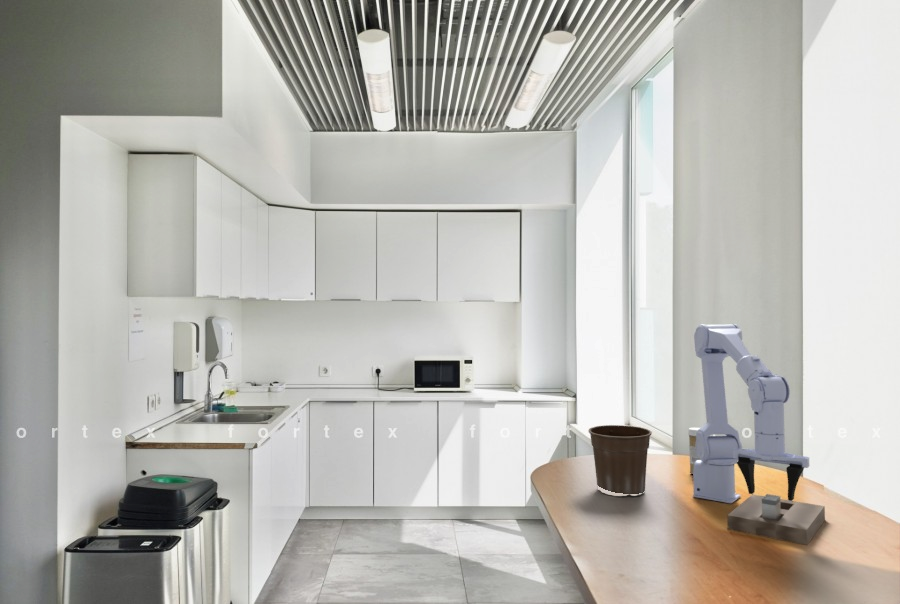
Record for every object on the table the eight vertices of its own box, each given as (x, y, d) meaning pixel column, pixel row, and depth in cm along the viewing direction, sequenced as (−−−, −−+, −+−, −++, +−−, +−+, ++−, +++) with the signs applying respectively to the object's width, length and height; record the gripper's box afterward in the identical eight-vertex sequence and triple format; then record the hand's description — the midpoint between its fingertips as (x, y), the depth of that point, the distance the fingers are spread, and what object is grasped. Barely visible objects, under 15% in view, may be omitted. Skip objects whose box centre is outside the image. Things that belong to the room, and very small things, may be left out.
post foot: (727, 529, 131) (727, 515, 131) (752, 506, 146) (752, 494, 146) (806, 545, 121) (806, 530, 121) (825, 519, 137) (824, 506, 137)
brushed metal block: (762, 531, 129) (761, 498, 130) (767, 526, 133) (766, 494, 133) (776, 534, 128) (775, 500, 128) (781, 528, 131) (780, 496, 131)
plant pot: (643, 504, 150) (642, 438, 150) (580, 494, 158) (579, 432, 159) (659, 488, 163) (658, 428, 164) (600, 480, 172) (599, 423, 172)
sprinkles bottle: (709, 475, 176) (708, 428, 177) (700, 477, 174) (699, 430, 174) (695, 472, 180) (694, 426, 181) (686, 474, 178) (685, 428, 178)
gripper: (728, 431, 133) (729, 494, 132) (803, 439, 123) (805, 507, 123) (737, 426, 138) (739, 487, 138) (810, 434, 128) (812, 499, 128)
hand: (770, 496), depth 131 cm, fingers open, 7 cm apart
